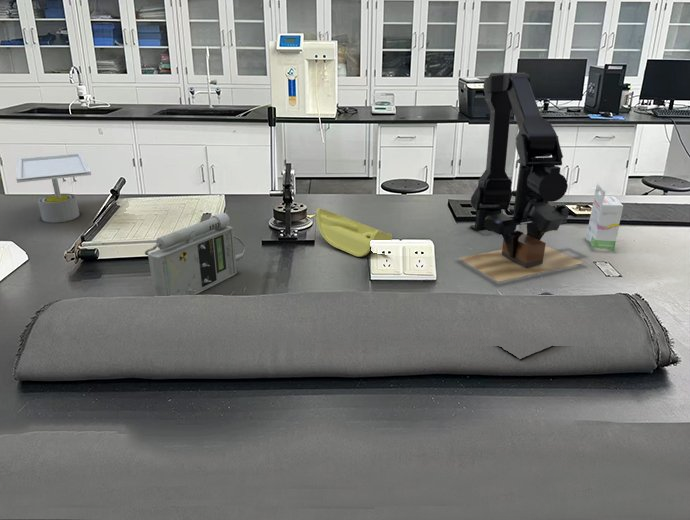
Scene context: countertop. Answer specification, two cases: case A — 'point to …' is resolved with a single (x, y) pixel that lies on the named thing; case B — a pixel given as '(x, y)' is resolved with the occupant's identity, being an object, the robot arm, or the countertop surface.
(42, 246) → the countertop surface
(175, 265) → the geiger counter
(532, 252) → the brown boxy piece
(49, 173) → the solar panel model
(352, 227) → the plastic component
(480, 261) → the board
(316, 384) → the countertop surface
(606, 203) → the ink box
